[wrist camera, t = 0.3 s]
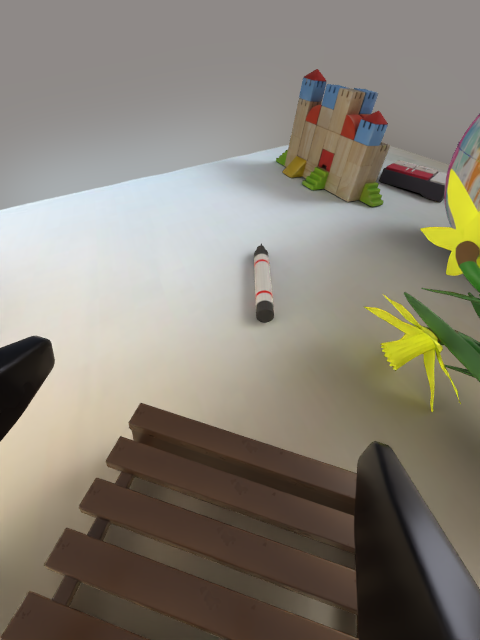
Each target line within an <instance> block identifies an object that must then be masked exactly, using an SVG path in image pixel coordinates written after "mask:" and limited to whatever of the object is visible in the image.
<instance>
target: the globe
mask: <svg viewBox="0 0 480 640" xmlns="http://www.w3.org/2000/svg"><path fill="white" fill-rule="evenodd" d="M451 169H452V170H453V171H454V172H455V173H456V175H457V176H458V177H459V179H460V181H461V182H462V184H463V186H464V187H465V189H466V191H467V193H468V194H469V196H470V198H471V200H472V202H473V204H474V205H475V207H476V209H477V211H478V212H479V211H480V114H479V115H478V116H477V117H476V119H475V120H474V121H473V122H472V124H471V125H470V126H469V128H468V129H467V131H466V132H465V134H464V136H463V137H462V139H461V141H460V142H459V144H458V146H457V148H456V150H455V152H454V155H453V157H452V160H451V162H450V165H449V168H448V172H447V175H446V181H445V192H444V196H445V208H446V213H447V217H448V220H449V223H450V225H451V227H452V228H453V229H456V226H455V222H454V219H453V216H452V213H451V210H450V207H449V204H448V194H447V188H448V183H449V176H450V170H451Z"/></svg>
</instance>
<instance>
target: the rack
mask: <svg viewBox="0 0 480 640" xmlns="http://www.w3.org/2000/svg"><path fill="white" fill-rule="evenodd" d="M129 428H130V429H131V430H132V434H133V439H134V441H133V440H130V439H127V438H124V437H121V436H120V438H119V439H118V441H117V443H116V444H115V446H114V448H113V449H112V451H111V453H110V454H109V456H108V458H107V459H106V463H107V466H108V467H110V468H113V469H115V470H118V471H121V474H120V476H119V477H118V479H117V481H116V483H115V484H114V483H111V482H108V481H105V480H102V479H100V478H96V479H95V480H94V482H93V483H92V485H91V487H90V488H89V490H88V492H87V493H86V495H85V497H84V499H83V500H82V502H81V504H80V505H79V509H80V511H81V512H82V513H84V514H87V515H90V516H92V517H95V518H96V520H95V521H94V523H93V525H92V527H91V529H90V531H89V532H88V534H87V535H86V534H83V533H80V532H78V531H75V530H72V529H70V528H66V529H65V530H64V532H63V534H62V535H61V537H60V539H59V540H58V542H57V544H56V545H55V547H54V549H53V550H52V552H51V554H50V555H49V557H48V559H47V560H46V562H45V564H44V566H45V567H46V568H47V569H49V570H51V571H54V572H56V573H59V574H61V575H64V578H63V580H62V582H61V584H60V586H59V587H58V589H57V591H56V593H55V595H54V597H53V598H52V600H51V599H49V598H46V597H44V596H42V595H39V594H37V593H34V592H32V591H29V592H28V593H27V594H26V596H25V597H24V599H23V601H22V602H21V604H20V606H19V607H18V609H17V611H16V613H15V614H14V616H13V618H12V619H11V621H10V623H9V624H8V626H7V628H6V629H5V631H4V633H3V634H2V636H1V638H0V640H149V639H147V638H144V637H142V636H140V635H137V634H135V633H132V632H130V631H127V630H125V629H122V628H120V627H117V626H115V625H113V624H110V623H108V622H105V621H103V620H100V619H98V618H95V617H93V616H91V615H88V614H86V613H83V612H81V611H78V610H76V609H73V608H71V607H69V606H70V604H71V602H72V600H73V598H74V596H75V594H76V592H77V590H78V588H79V586H80V584H81V582H82V583H84V584H87V585H89V586H92V587H94V588H97V589H99V590H102V591H104V592H107V593H109V594H112V595H114V596H117V597H119V598H122V599H124V600H127V601H129V602H132V603H134V604H137V605H139V606H142V607H144V608H147V609H149V610H152V611H154V612H157V613H160V614H162V615H165V616H167V617H170V618H172V619H175V620H177V621H180V622H182V623H185V624H187V625H190V626H192V627H195V628H197V629H200V630H202V631H205V632H207V633H210V634H212V635H215V636H217V637H220V638H222V639H225V640H359V634H358V611H357V589H356V570H353V569H351V568H348V567H345V566H342V565H340V564H337V563H334V562H331V561H328V560H326V559H323V558H320V557H317V556H314V555H312V554H309V553H306V552H303V551H300V550H298V549H295V548H292V547H289V546H287V545H284V544H281V543H278V542H275V541H273V540H270V539H267V538H264V537H261V536H259V535H256V534H253V533H250V532H248V531H245V530H242V529H239V528H236V527H234V526H231V525H228V524H225V523H222V522H220V521H217V520H214V519H211V518H208V517H206V516H203V515H200V514H197V513H195V512H192V511H189V510H186V509H183V508H181V507H178V506H175V505H172V504H169V503H167V502H164V501H161V500H158V499H155V498H153V497H150V496H147V495H144V494H142V493H139V492H136V491H133V490H130V489H129V488H130V486H131V484H132V482H133V480H134V478H135V477H138V478H141V479H144V480H146V481H149V482H152V483H155V484H158V485H161V486H163V487H166V488H169V489H172V490H175V491H178V492H180V493H183V494H186V495H189V496H192V497H195V498H197V499H200V500H203V501H206V502H209V503H212V504H214V505H217V506H220V507H223V508H226V509H229V510H231V511H234V512H237V513H240V514H243V515H245V516H248V517H251V518H254V519H257V520H260V521H262V522H265V523H268V524H271V525H274V526H277V527H279V528H282V529H285V530H288V531H291V532H294V533H296V534H299V535H302V536H305V537H308V538H311V539H313V540H316V541H319V542H322V543H325V544H328V545H330V546H333V547H336V548H339V549H342V550H345V551H347V552H350V553H353V554H355V543H354V510H355V494H356V479H357V473H354V472H351V471H348V470H345V469H342V468H339V467H336V466H333V465H329V464H326V463H323V462H320V461H317V460H314V459H311V458H308V457H305V456H302V455H299V454H296V453H293V452H290V451H287V450H284V449H281V448H278V447H274V446H271V445H268V444H265V443H262V442H259V441H256V440H253V439H250V438H247V437H244V436H241V435H238V434H235V433H232V432H229V431H226V430H222V429H219V428H216V427H213V426H210V425H207V424H204V423H201V422H198V421H195V420H192V419H189V418H186V417H183V416H180V415H177V414H174V413H171V412H167V411H164V410H161V409H158V408H155V407H152V406H149V405H146V404H143V403H140V405H139V406H138V408H137V410H136V411H135V413H134V415H133V416H132V418H131V420H130V421H129ZM111 524H114V525H117V526H119V527H122V528H125V529H127V530H130V531H133V532H135V533H138V534H141V535H143V536H146V537H149V538H151V539H154V540H157V541H159V542H162V543H165V544H167V545H170V546H173V547H176V548H178V549H181V550H184V551H186V552H189V553H192V554H194V555H197V556H200V557H202V558H205V559H208V560H210V561H213V562H216V563H218V564H221V565H224V566H226V567H229V568H232V569H235V570H237V571H240V572H243V573H245V574H248V575H251V576H253V577H256V578H259V579H261V580H264V581H267V582H269V583H272V584H275V585H277V586H280V587H283V588H285V589H288V590H291V591H294V592H296V593H299V594H302V595H304V596H307V597H310V598H312V599H315V600H318V601H320V602H323V603H326V604H328V605H331V606H334V607H336V608H339V609H342V610H344V611H347V612H350V613H352V614H355V615H357V638H356V637H354V636H351V635H349V634H346V633H343V632H341V631H338V630H335V629H333V628H330V627H328V626H325V625H322V624H320V623H317V622H314V621H312V620H309V619H306V618H304V617H301V616H299V615H296V614H293V613H291V612H288V611H285V610H283V609H280V608H278V607H275V606H272V605H270V604H267V603H264V602H262V601H259V600H257V599H254V598H251V597H249V596H246V595H243V594H241V593H238V592H235V591H233V590H230V589H228V588H225V587H222V586H220V585H217V584H214V583H212V582H209V581H207V580H204V579H201V578H199V577H196V576H193V575H191V574H188V573H186V572H183V571H180V570H178V569H175V568H172V567H170V566H167V565H164V564H162V563H159V562H157V561H154V560H151V559H149V558H146V557H143V556H141V555H138V554H136V553H133V552H130V551H128V550H125V549H122V548H120V547H117V546H115V545H112V544H109V543H107V542H104V541H103V539H104V537H105V535H106V533H107V531H108V529H109V527H110V525H111Z"/></svg>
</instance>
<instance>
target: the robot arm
mask: <svg viewBox="0 0 480 640" xmlns="http://www.w3.org/2000/svg"><path fill="white" fill-rule="evenodd" d="M54 362H55V359H54V354H53V349H52V344H51V342H50V340H48V339H46V338H42V337H39V336H31V337H28V338H26V339H23V340H20V341H18V342H15V343H12V344H10V345H7V346H4V347H2V348H0V441H1V440H2V439H3V438H4V436H5V435H6V434H7V433H8V432H9V430H10V429H11V428H12V427H13V425H14V424H15V423H16V422H17V420H18V419H19V418H20V417H21V415H22V414H23V412H24V411H25V410H26V408H27V407H28V405H29V404H30V402H31V400H32V399H33V397H34V396H35V394H36V393H37V391H38V390H39V388H40V387H41V385H42V384H43V382H44V381H45V379H46V378H47V376H48V375H49V373H50V372H51V370H52V368H53V366H54ZM354 543H355V566H356V589H357V611H358V634H359V640H480V589H479V587H478V586H477V584H476V583H475V581H474V579H473V578H472V576H471V575H470V573H469V571H468V570H467V568H466V567H465V565H464V563H463V562H462V560H461V559H460V557H459V555H458V554H457V552H456V551H455V549H454V547H453V546H452V544H451V543H450V541H449V539H448V538H447V536H446V535H445V533H444V531H443V530H442V528H441V527H440V525H439V523H438V522H437V520H436V519H435V517H434V515H433V514H432V512H431V511H430V509H429V507H428V506H427V504H426V503H425V501H424V499H423V498H422V496H421V495H420V493H419V491H418V490H417V488H416V487H415V485H414V483H413V482H412V480H411V479H410V477H409V475H408V474H407V472H406V471H405V469H404V467H403V466H402V464H401V462H400V461H399V459H398V458H397V456H396V454H395V453H394V451H393V450H392V448H391V447H390V446H388V445H386V444H383V443H380V442H376V441H374V442H372V443H371V444H370V445H369V446H368V447H367V449H366V450H365V451H364V452H363V453H362V455H361V456H360V458H359V460H358V464H357V479H356V494H355V510H354Z"/></svg>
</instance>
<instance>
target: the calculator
mask: <svg viewBox="0 0 480 640" xmlns="http://www.w3.org/2000/svg"><path fill="white" fill-rule="evenodd" d="M416 166H417V165H416V164H412V163H408V162H404V161H400V160H398V161H397V162H395V163H393V164H391V165H389V166H387V167H386V168H384V169H383V172H382V174H381V177H380V180H379V181H380V182H383V183H386V184H390V185H393V186H397V187H400V188H403V189H407V190H410V191H414V192H417V193H421V194H422V195H423V197H424V198H428V199H431V200H434V201H438V202H441V201H442V200H443V199H444V198H445V196H444V192H445V181H446V175H447V173H443V172H438V170H435V169H431V168H428V167H424V166H418V167H416Z"/></svg>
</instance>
